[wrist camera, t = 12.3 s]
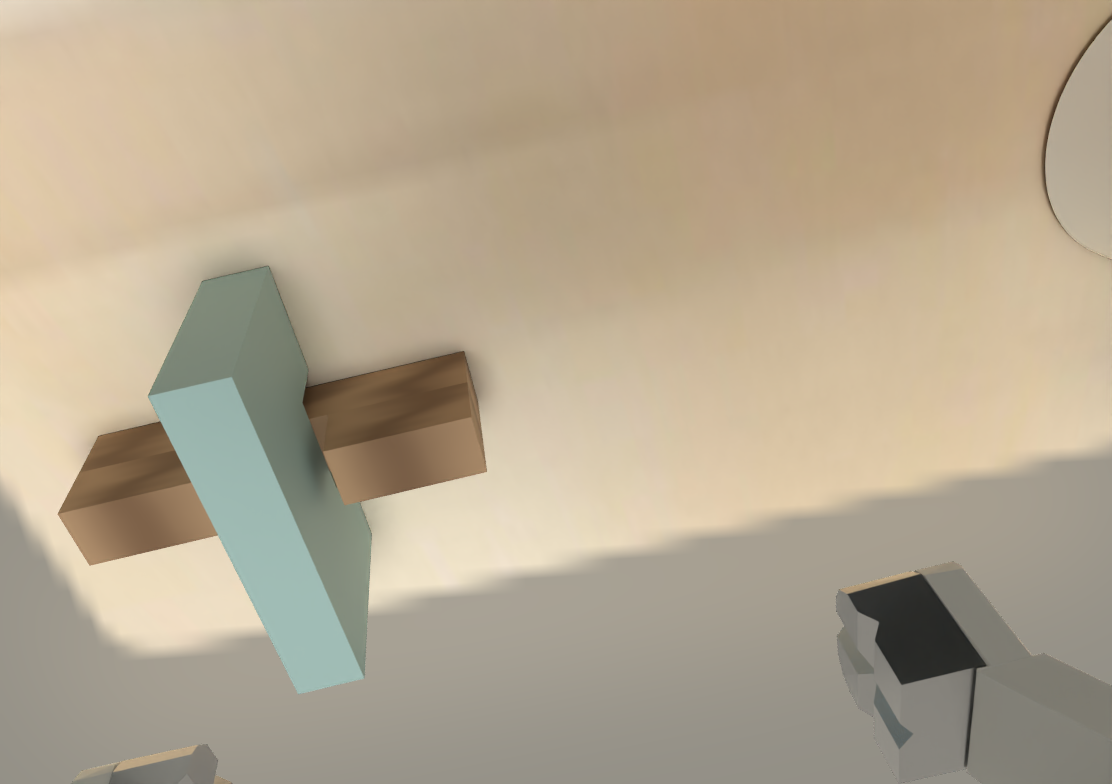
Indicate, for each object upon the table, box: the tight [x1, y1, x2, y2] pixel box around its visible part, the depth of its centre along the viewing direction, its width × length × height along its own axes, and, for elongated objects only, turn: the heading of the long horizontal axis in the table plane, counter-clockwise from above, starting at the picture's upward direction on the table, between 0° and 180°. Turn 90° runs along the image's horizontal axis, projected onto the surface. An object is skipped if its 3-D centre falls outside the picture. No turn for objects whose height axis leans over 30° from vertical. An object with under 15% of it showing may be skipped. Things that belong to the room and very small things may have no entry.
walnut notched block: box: [58, 351, 487, 565], centre depth 42 cm, size 18×3×6 cm, turn 101°
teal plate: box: [148, 266, 372, 694], centre depth 40 cm, size 3×16×10 cm, turn 11°
